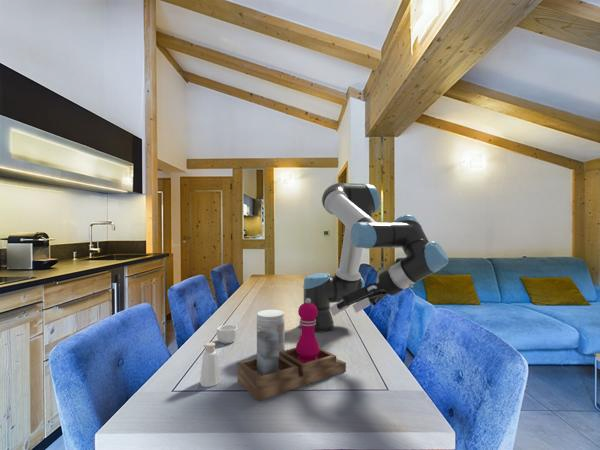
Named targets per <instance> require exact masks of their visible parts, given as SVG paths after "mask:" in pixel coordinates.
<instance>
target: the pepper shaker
mask: <svg viewBox="0 0 600 450" xmlns="http://www.w3.org/2000/svg"><path fill="white" fill-rule="evenodd" d="M215 346H216V343H215V342H212V341H211V342H206V343H205V344H204V350H205V351H204V352H203V354H202V361H201V368H200V369H201V370H200V380H199V382H200V385H201V387H205V388H210V387H211V388H212V387H216V385H218V384H219V383H220V375H219V374H220V372H219V362H218V354H217V351H216V347H215Z"/></svg>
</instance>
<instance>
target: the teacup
mask: <svg viewBox="0 0 600 450" xmlns="http://www.w3.org/2000/svg"><path fill="white" fill-rule="evenodd" d="M216 337H217V340H218V341H219V342H220V343H221V344H227V345H228V344H232V343H233V342H235V340H237V338H238V326H237V325H235V324H224V325H219V326H218V327H217V328H216Z"/></svg>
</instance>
